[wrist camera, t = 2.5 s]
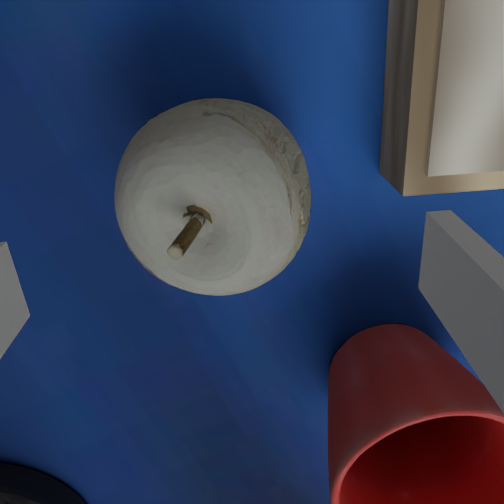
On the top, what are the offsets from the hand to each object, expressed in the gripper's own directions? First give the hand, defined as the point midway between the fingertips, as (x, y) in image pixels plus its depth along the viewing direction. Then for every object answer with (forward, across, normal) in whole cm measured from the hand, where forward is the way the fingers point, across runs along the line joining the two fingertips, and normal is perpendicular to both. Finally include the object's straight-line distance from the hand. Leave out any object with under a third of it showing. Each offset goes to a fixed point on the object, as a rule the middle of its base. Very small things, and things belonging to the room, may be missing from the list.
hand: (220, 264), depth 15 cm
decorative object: (+12, 0, 0) cm, 12 cm away
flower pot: (+12, +10, -15) cm, 22 cm away
